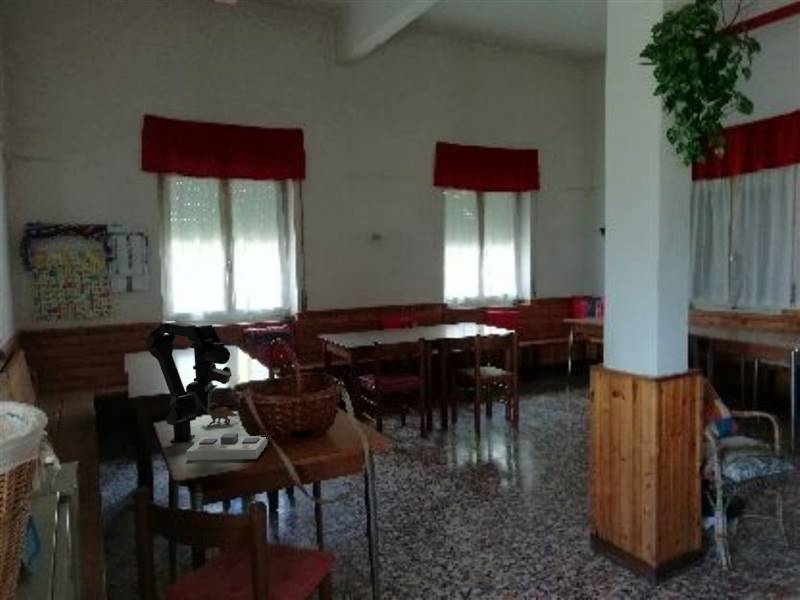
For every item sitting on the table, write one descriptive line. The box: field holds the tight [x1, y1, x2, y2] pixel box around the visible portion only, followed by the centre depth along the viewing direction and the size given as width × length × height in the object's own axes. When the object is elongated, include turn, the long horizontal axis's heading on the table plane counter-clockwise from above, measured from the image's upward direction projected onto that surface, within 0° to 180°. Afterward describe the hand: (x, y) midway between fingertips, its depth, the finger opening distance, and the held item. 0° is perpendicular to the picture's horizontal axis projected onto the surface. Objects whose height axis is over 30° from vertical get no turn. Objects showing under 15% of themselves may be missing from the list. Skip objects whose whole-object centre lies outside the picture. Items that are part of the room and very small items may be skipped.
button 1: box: [199, 438, 217, 445], centre depth 198 cm, size 4×4×2 cm
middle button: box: [220, 432, 239, 444], centre depth 198 cm, size 4×4×2 cm
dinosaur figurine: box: [202, 402, 239, 427], centre depth 231 cm, size 14×6×9 cm, turn 94°
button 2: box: [242, 437, 259, 444], centre depth 198 cm, size 4×4×2 cm
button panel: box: [186, 435, 268, 461], centre depth 197 cm, size 14×22×3 cm, turn 88°
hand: (206, 408), depth 203 cm, fingers closed
